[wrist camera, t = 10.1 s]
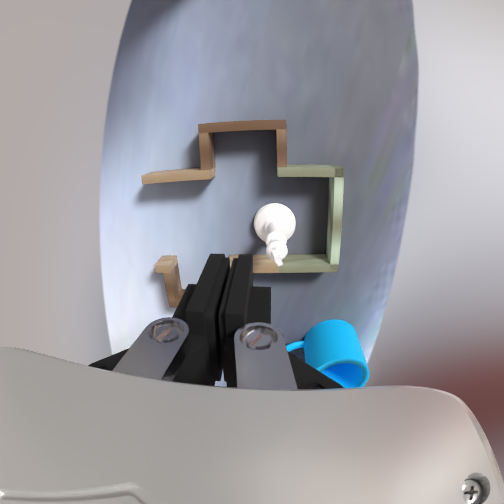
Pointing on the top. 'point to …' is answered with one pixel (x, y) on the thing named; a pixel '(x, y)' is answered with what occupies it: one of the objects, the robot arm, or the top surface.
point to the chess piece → (275, 229)
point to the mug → (335, 353)
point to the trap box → (334, 172)
